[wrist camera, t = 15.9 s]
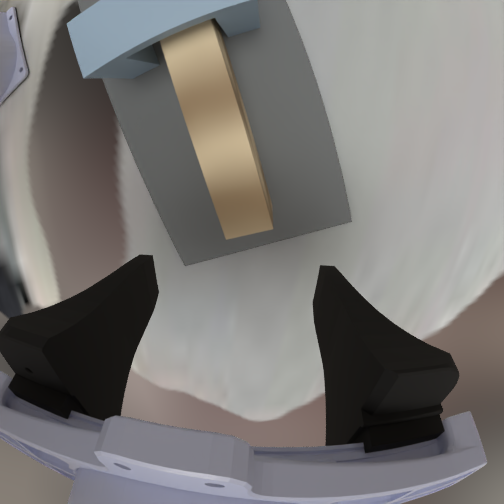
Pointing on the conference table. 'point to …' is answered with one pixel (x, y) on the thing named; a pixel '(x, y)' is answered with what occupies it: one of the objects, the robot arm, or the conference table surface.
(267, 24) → the mat
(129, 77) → the light blue u-channel
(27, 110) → the conference table surface
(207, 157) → the tan wooden bar
